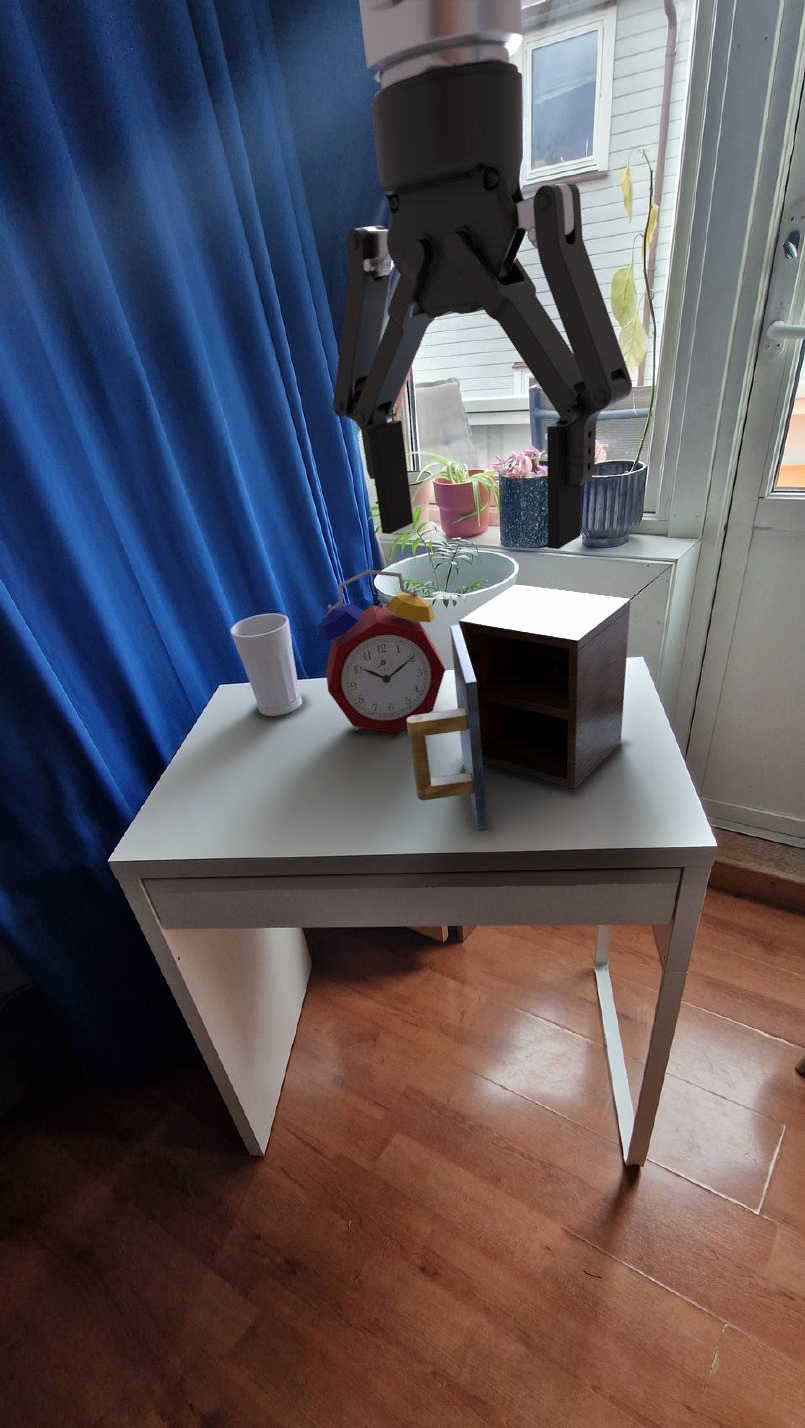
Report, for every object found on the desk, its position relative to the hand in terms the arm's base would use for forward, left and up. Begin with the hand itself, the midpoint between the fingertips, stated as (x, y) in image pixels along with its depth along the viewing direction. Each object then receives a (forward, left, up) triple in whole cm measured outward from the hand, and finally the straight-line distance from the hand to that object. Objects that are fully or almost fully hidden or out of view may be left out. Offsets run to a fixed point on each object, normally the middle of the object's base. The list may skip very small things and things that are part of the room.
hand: (474, 535), depth 49 cm
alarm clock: (+31, -21, -32) cm, 49 cm away
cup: (+49, -17, -32) cm, 61 cm away
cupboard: (+9, -23, -32) cm, 40 cm away
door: (+13, -10, -32) cm, 35 cm away
